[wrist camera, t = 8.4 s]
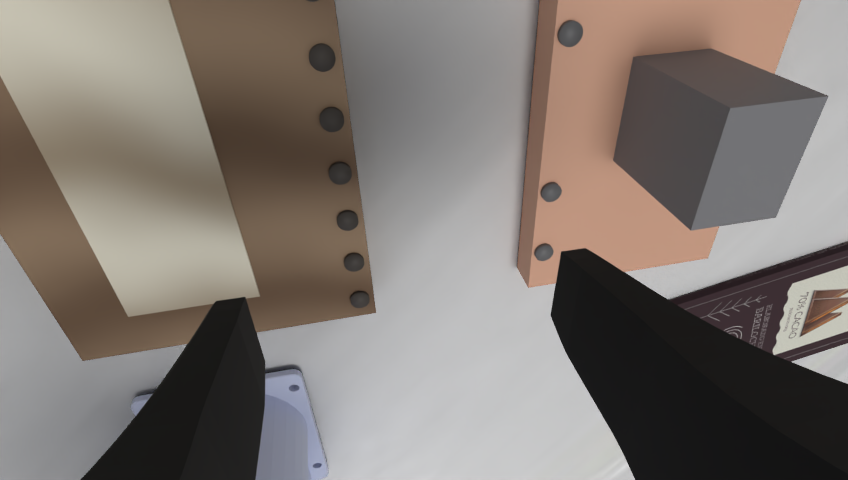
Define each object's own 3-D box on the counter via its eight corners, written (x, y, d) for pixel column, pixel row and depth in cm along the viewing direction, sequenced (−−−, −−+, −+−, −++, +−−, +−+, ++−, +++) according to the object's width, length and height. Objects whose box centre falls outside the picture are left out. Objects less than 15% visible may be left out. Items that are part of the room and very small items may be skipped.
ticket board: (372, 290, 23) (376, 315, 22) (95, 334, 22) (81, 364, 20) (313, -146, 14) (314, -149, 13) (-180, -124, 12) (-240, -124, 11)
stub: (688, 240, 25) (788, 332, 20) (517, 267, 24) (575, 373, 19) (821, -168, 16) (1069, -193, 11) (553, -156, 15) (686, -177, 10)
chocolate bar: (639, 317, 27) (953, 215, 28) (630, 305, 28) (935, 206, 28) (638, 411, 33) (900, 325, 33) (630, 399, 33) (887, 315, 34)
